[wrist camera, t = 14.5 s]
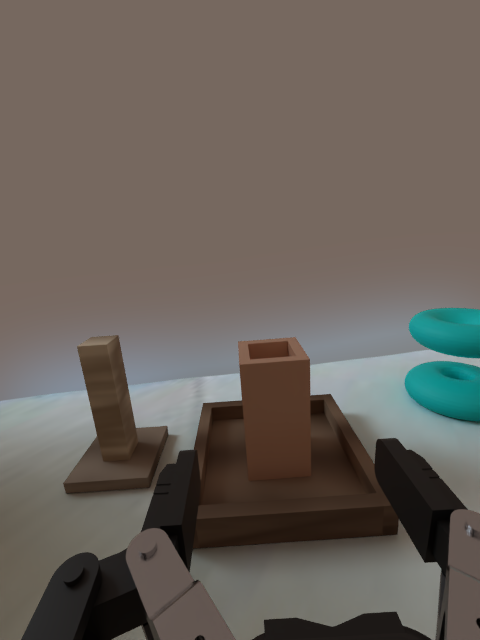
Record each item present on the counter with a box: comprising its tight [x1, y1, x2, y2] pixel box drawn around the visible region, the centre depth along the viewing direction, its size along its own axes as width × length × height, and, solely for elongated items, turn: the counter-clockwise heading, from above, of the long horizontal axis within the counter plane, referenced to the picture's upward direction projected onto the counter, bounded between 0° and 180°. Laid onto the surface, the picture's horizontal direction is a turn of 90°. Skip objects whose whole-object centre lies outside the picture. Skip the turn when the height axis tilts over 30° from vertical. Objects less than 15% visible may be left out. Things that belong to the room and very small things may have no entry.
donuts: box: [405, 308, 480, 421], centre depth 32 cm, size 10×10×10 cm
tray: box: [193, 394, 399, 549], centre depth 26 cm, size 14×14×2 cm
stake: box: [63, 335, 168, 493], centre depth 26 cm, size 7×7×12 cm
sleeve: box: [238, 337, 311, 481], centre depth 24 cm, size 5×5×10 cm
